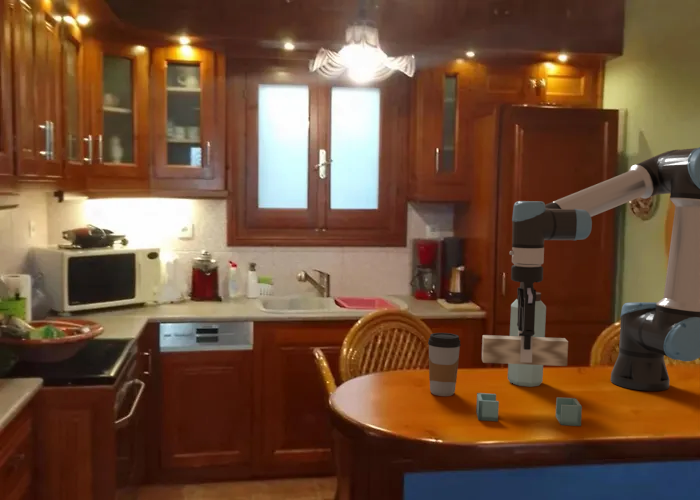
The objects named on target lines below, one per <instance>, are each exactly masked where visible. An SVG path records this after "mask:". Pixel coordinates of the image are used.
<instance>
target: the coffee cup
mask: <svg viewBox="0 0 700 500" xmlns="http://www.w3.org/2000/svg"><path fill="white" fill-rule="evenodd" d="M429 336H430V337H429V338H428V343H427V344H428V373H429V374H428V375H429V376H428V377H429V391H430V392H431V394H432V395H435V396H440V397H450V396H453V395H454V394H455V392H456V386H457V385H456V384H457V379H458V369H459V362H460V361H459V360H460V357H459V356H460V347H461V340H460V337H459V335H458V334H454V333H451V332H450V333H448V332H433V333H431V334H430V335H429Z"/></svg>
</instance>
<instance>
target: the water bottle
mask: <svg viewBox="0 0 700 500" xmlns="http://www.w3.org/2000/svg"><path fill="white" fill-rule="evenodd" d="M516 293H517V292H516ZM541 298H542V292H539V291H536V301H535V324H534V332H535V334H534V335H533V337H546V319H547V318H546V316H547V305H546V304H545V303H544V302H543V301H542V300H541ZM509 323H510V324H509V336H518V331H519V330H518V326H517V323H518V293H517V295H516V299H515V300H514V301H513V302H512V303H511V304H510V322H509ZM543 376H544V365H529V364H507V380H508V382H510V384H512V383H513V385H516V386H518V387H519V386H520V387H528V388H529V387H530V388H531V387H539V386H540V385H541V384H542V383H543Z"/></svg>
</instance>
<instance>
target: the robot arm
mask: <svg viewBox="0 0 700 500" xmlns="http://www.w3.org/2000/svg"><path fill="white" fill-rule="evenodd" d="M666 194H667V195H669V194H670V195H669V200H670V201H671V202H672V203H673V205H674V216H673V222H672V229H671V230H672V231H671V238H670V244H669V245H670V246H669V254H668V260H667V269H666V277H665V285H664V289H663V290H664V291H663V298H661V299H660V300H658V302H650V301H646V302H645V301H641V302H639V301H635V302H634V301H633V302H631V301H630V302H625V303H624V304H623V305H622V307H621V311H620V312H621V313H620V316H619V317H620V324H619V325H620V326H619V327H620V328H619V345H618V346H619V348H618V356H617V358H616V361H615V363H614V366H613V368H612V370H611V372H610V373H611V374H610V382H611V383H612V384H614V385H616V386H619V387H621V388H624V389H630V390H637V391H646V392H660V391H661V392H662V391H666V390H668V389H669V388H670V376H669V374H668V369H667V365H666V362H665V357H668V358H670V359H672V360H676V361H677V360H678V361H682V362H693V361H695V360H697V359H700V147H694V148H686V149H685V148H683V149H672V150H668V151H665V152H662V153H660V154H657V155H655V156H652V157H650V158H647V159H645V160H643V161H641V162H638V163H637V164H634V165H631V166H630V168H629V170H628V171H626V172H623V173H621V174H619V175H617V176H613V177H612V178H609V179H606V180H604V181H601V182H599V183H597V184H594V185H591V186H589V187H586V188H584V189H581V190H579V191H576V192H574V193H570V194H569V195H566V196H564V197H560V198H558V199H557V200H554V201H552V202H549V203H546V204H545V202H544V201H538V200H537V201H536V200H535V201H533V200H532V201H529V200H527V201H526V200H518V201H516V202H514V204H513V210H512V216H511V218H512V219H511V221H512V226H511V228H512V231H511V232H512V234H511V236H512V237H511V238H512V239H511V241H512V243H511V250H510V251H509V255H510V256H511V263H512V264H513V265H511V266H510V267H511V269H510V270H511V271H510V273H511V274H510V279H511V281H513V282H517V283H520V284H519V287H517V290H516V293H518V323H517V326H518V330H519V331H518V336H520V337H521V349H520V362H527V363H532V344H533V335H534V334H535V332H534V324H535V301H536V292H537V290H536V289H535V288H534V284H535V283H541V282H542V281H543V280H544V267H543V266H542V265H543V264H544V263H545V262H544V261H545V260H544V259H545V257H544V256H545V255H544V254H545V241H574V242H575V241H577V240H579V241H580V240H586V239H587V238H588V237H589V236H590V234H591V232H592V230H593V229H592V225H593V221H592V217H594V216H596V215H600V214H602V213H604V212H606V211H609V210H611V209H614V208H616V207H618V206H622V205H623V204H627V203H629V202H631V201H634V200H637V199H639V198H640V199H648V198H651V197H654V196H658V195H666Z"/></svg>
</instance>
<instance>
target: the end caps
mask: <svg viewBox="0 0 700 500" xmlns="http://www.w3.org/2000/svg"><path fill="white" fill-rule="evenodd" d="M499 404H500V402H499V400H497V394H496V393H485V392H476V405H475V406H476V408H475V409H476V410H475V413H476V416H477V420H478V421H485V422H499V407H500V406H499ZM582 410H583V407H582V405H581V404H580V401H578V399H577V398H575V397H559V396H557V397H556V401H555V418H556V420H557V421H558V423H559V424H560V426H575V427H581V426H582V414H583V413H582V412H583V411H582Z"/></svg>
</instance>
